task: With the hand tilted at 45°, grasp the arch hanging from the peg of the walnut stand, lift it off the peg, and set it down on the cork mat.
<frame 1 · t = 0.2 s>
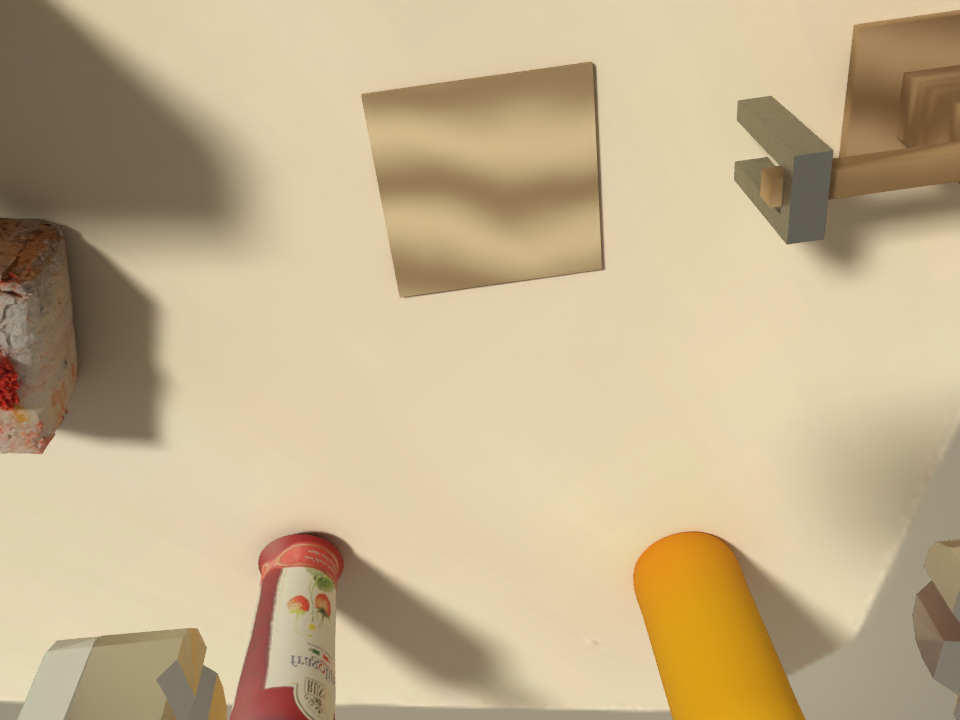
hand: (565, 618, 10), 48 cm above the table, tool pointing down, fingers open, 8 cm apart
mat: (489, 185, 58), on the table
food item: (25, 305, 60), on the table
arch: (752, 139, 54), point 3 cm above the table, touching stand
liquor: (302, 551, 75), on the table
beer bottle: (681, 564, 79), on the table
stand: (922, 95, 57), on the table
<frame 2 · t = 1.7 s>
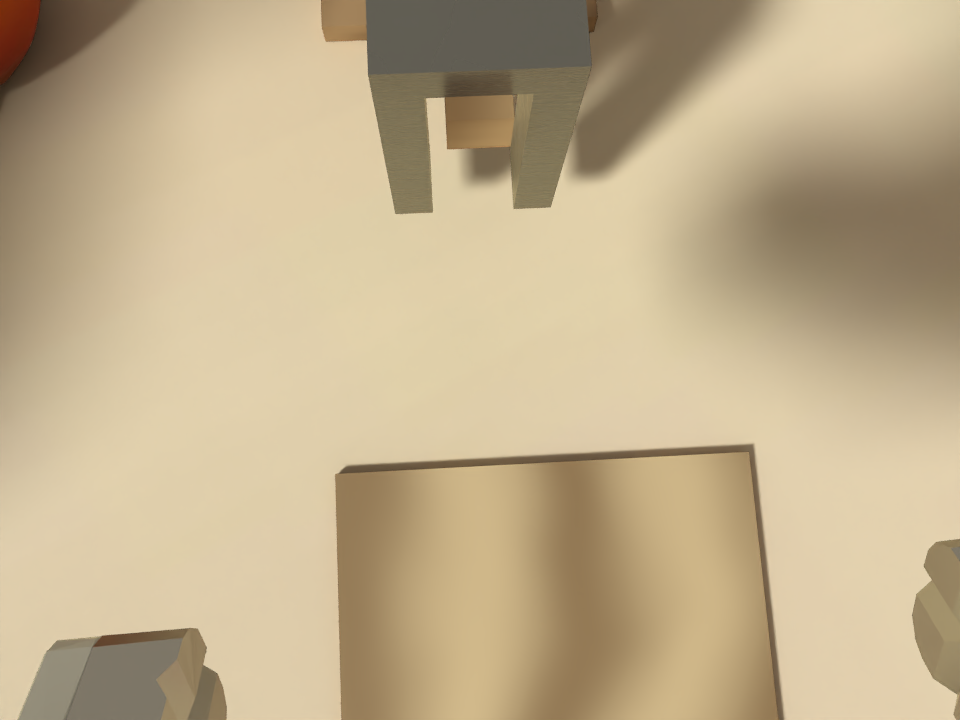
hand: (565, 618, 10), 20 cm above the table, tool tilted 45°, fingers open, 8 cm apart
mat: (557, 678, 29), on the table
arch: (471, 181, 29), point 3 cm above the table, touching stand
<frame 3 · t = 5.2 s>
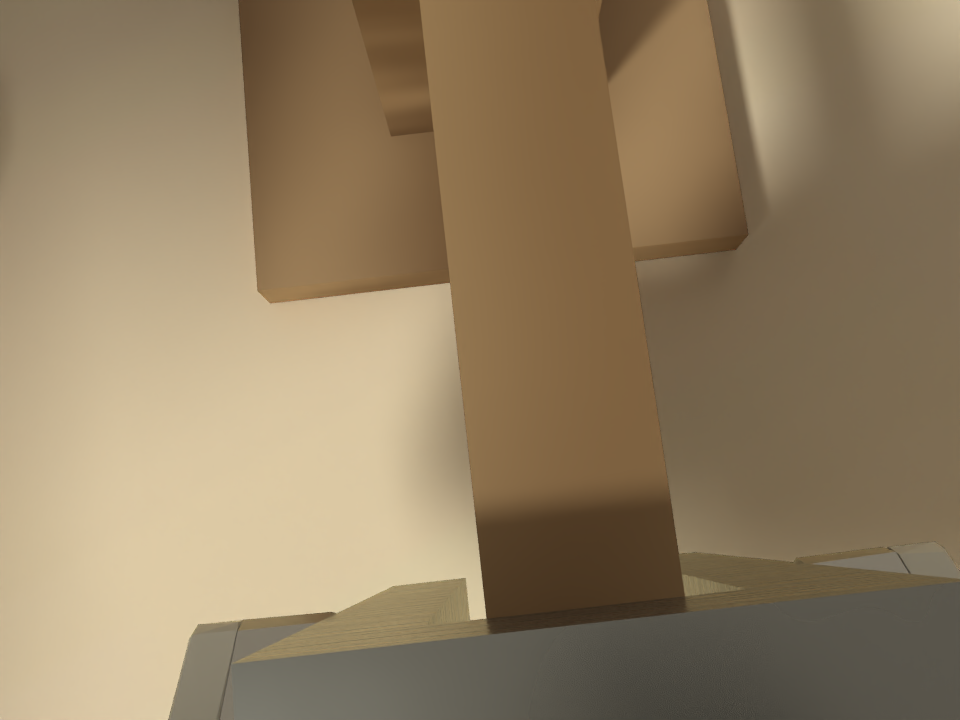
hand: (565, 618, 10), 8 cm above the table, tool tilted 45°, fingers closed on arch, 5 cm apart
arch: (551, 631, 15), point 3 cm above the table, touching gripper, stand
stand: (476, 62, 20), on the table
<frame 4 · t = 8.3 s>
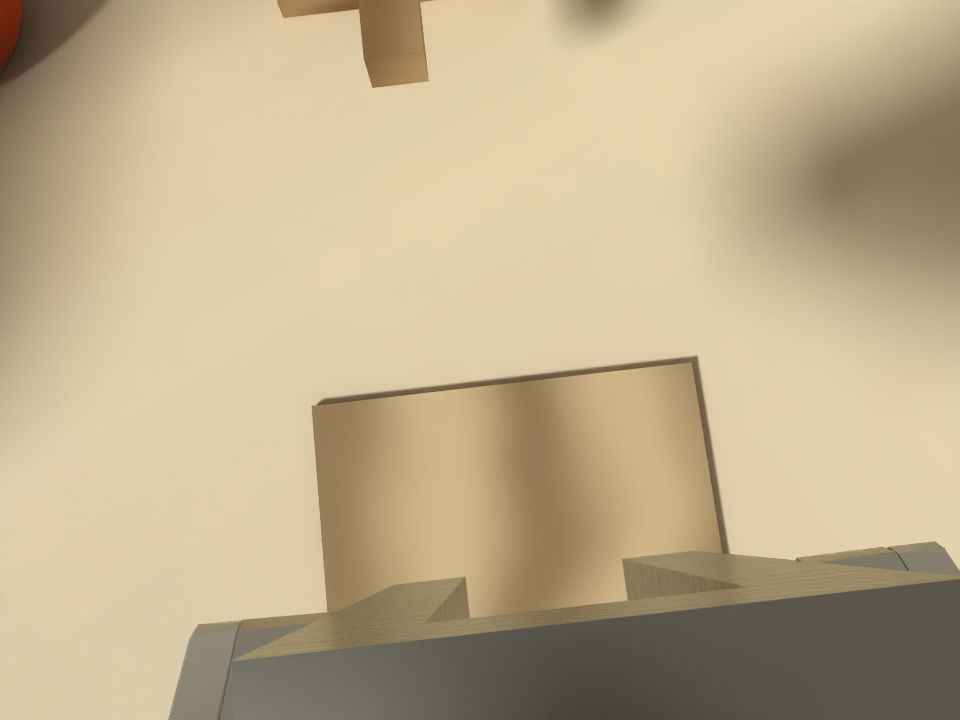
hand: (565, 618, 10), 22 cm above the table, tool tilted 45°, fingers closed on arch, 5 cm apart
mat: (524, 579, 32), on the table
arch: (551, 630, 15), point 18 cm above the table, touching gripper
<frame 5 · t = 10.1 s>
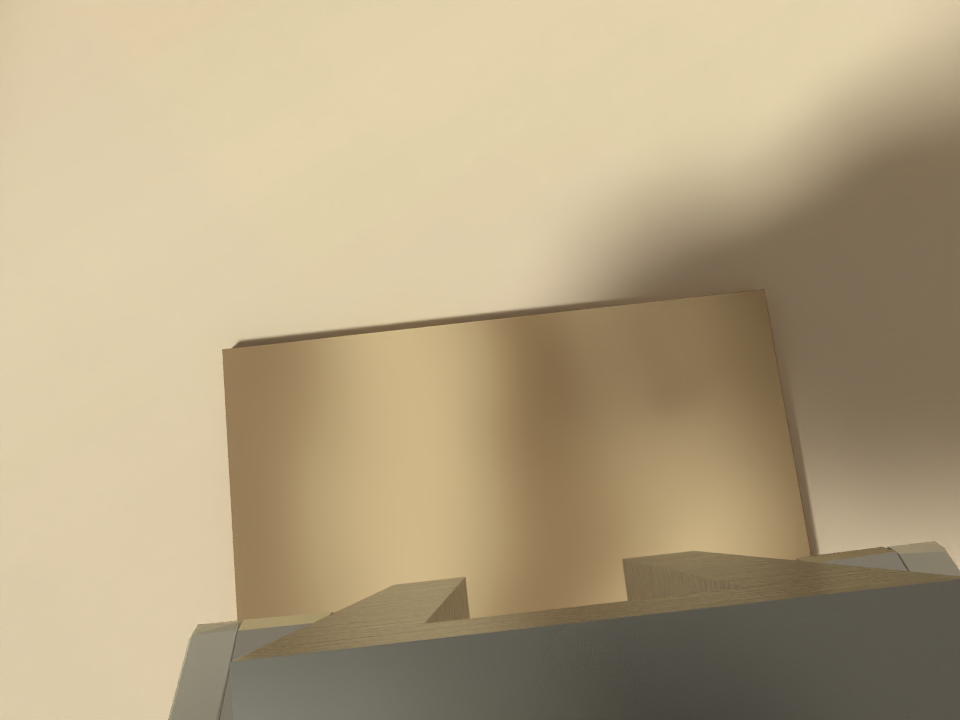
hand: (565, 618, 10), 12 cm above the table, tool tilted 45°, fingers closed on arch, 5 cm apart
mat: (525, 597, 22), on the table
arch: (551, 630, 15), point 8 cm above the table, touching gripper
when the fingers open (7 cm above the table, at t = 11.6 s): arch drops 2 cm, resting on mat.
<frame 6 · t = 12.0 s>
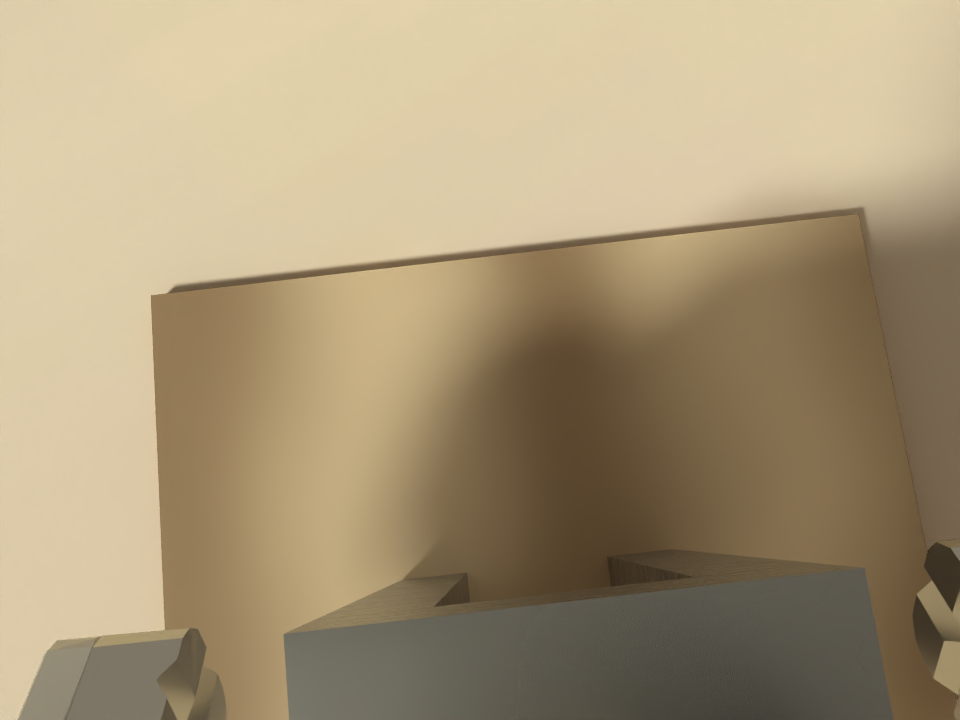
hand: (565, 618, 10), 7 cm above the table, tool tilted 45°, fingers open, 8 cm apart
mat: (547, 619, 17), on the table
arch: (543, 620, 16), resting on mat
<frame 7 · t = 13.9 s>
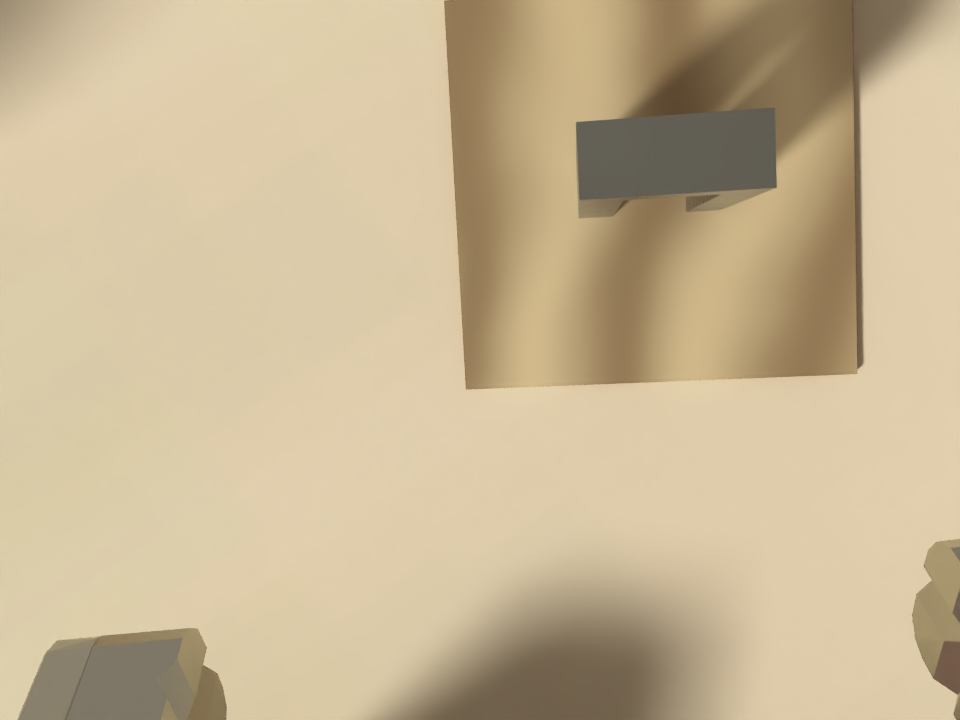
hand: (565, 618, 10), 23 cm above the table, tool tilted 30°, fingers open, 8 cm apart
mat: (649, 187, 32), on the table
arch: (647, 186, 32), resting on mat
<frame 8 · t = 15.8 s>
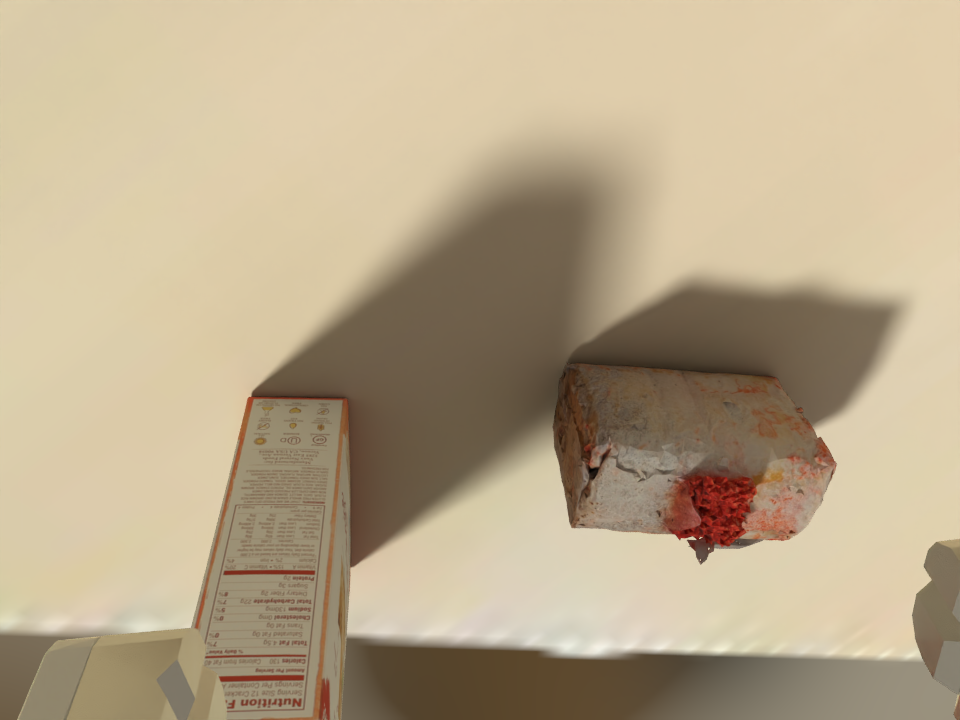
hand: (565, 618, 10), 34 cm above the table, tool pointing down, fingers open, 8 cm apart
food item: (667, 407, 52), on the table
cracker box: (306, 485, 54), on the table
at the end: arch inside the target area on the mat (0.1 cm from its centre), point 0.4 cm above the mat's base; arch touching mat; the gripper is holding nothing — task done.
